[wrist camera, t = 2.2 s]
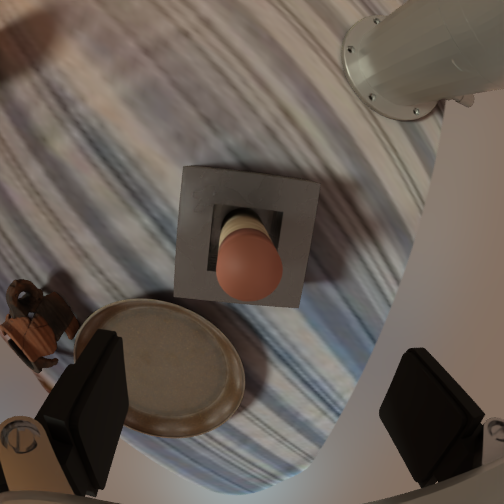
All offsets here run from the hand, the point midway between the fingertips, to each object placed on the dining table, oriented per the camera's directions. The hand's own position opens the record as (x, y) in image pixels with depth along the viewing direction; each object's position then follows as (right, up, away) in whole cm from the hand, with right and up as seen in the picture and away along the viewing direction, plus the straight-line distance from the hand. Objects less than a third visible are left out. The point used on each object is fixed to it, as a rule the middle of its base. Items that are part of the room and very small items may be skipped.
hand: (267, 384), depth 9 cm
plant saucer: (-12, -10, +27) cm, 31 cm away
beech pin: (-1, +6, +21) cm, 22 cm away
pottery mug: (-26, -3, +24) cm, 35 cm away
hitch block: (-2, +7, +22) cm, 23 cm away
